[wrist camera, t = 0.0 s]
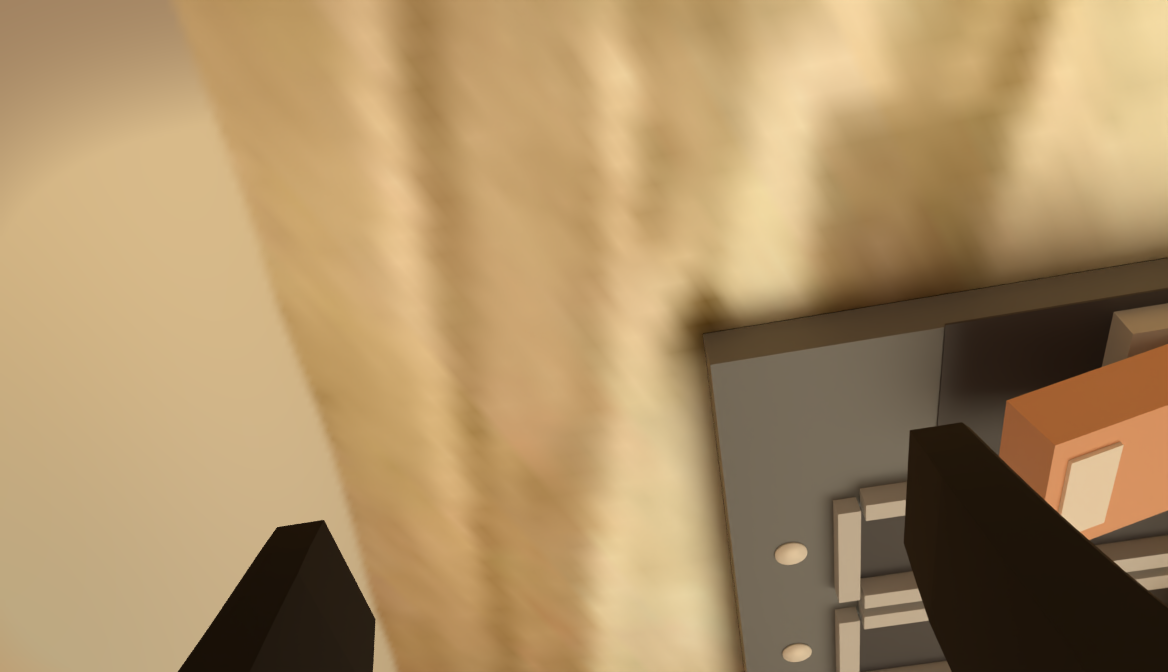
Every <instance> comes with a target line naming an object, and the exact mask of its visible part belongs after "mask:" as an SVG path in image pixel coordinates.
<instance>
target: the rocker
mask: <svg viewBox="0 0 1168 672" xmlns="http://www.w3.org/2000/svg"><path fill="white" fill-rule="evenodd" d="M999 457H1000V458H1001V459H1002V460H1003V461H1004V462H1005V463H1006V464H1007V465H1008V466H1009V467H1010V468H1011V469H1013V470H1014V471H1015V472H1016V473H1017V474H1018V475H1019V476H1020V477H1021V478H1022V479H1023V480H1024V481H1025V482H1026V483H1027V484H1028V485H1029V486H1030V487H1031V488H1032V489H1033V490H1035V491H1036V492H1037V493H1038V494H1039V495H1040V496H1041V497H1042V498H1043V499H1044V500H1045V501H1046V502H1047V503H1048V504H1049V505H1051V506H1052V507H1053V508H1054V509H1055V510H1056V511H1057V512H1058V513H1059V514H1060V515H1061V516H1063V517H1064V518H1065V519H1066V520H1067V521H1068V522H1069V523H1070V524H1071V525H1072V526H1074V527H1075V528H1076V529H1077V530H1078V531H1079V532H1080V533H1082V534H1083V535H1084V536H1085V537H1086V538H1087V539H1088V540H1090V539H1093V538H1096V537H1098V536H1101V535H1104V534H1106V533H1109V532H1112V531H1114V530H1117V529H1120V528H1122V527H1125V526H1128V525H1130V524H1133V523H1136V522H1138V521H1141V520H1144V519H1146V518H1149V517H1152V516H1154V515H1157V514H1160V513H1162V512H1165V511H1168V344H1166V345H1164V346H1161V347H1158V348H1155V349H1152V350H1149V351H1146V352H1144V353H1141V354H1138V355H1135V356H1132V357H1129V358H1126V359H1124V360H1121V361H1118V362H1115V363H1112V364H1109V365H1106V366H1104V367H1101V368H1098V369H1095V370H1092V371H1089V372H1086V373H1084V374H1081V375H1078V376H1075V377H1072V378H1069V379H1066V380H1064V381H1061V382H1058V383H1055V384H1052V385H1049V386H1047V387H1044V388H1041V389H1038V390H1035V391H1032V392H1029V393H1027V394H1024V395H1021V396H1018V397H1015V398H1012V399H1009V400H1007V401H1006V408H1005V415H1004V423H1003V430H1002V437H1001V444H1000V452H999Z"/></svg>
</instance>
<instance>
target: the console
mask: <svg viewBox="0 0 1168 672" xmlns="http://www.w3.org/2000/svg"><path fill="white" fill-rule="evenodd" d="M703 339H704V347H705V355H706V363H707V371H708V380H709V388H710V396H711V404H712V412H713V420H714V429H715V437H716V445H717V453H718V461H719V469H720V477H721V486H722V494H723V502H724V510H725V518H726V526H727V535H728V543H729V551H730V559H731V567H732V575H733V583H734V592H735V600H736V608H737V616H738V624H739V632H740V641H741V649H742V657H743V665H744V672H951V669H950V667H949V665H948V663H947V660H946V658H945V656H944V654H943V652H942V649H941V647H940V645H939V643H938V641H937V638H936V636H935V634H934V632H933V629H932V627H931V625H930V623H929V620H928V617H927V614H926V611H925V608H924V605H923V602H922V599H921V596H920V593H919V590H918V587H917V584H916V581H915V577H914V574H913V571H912V568H911V565H910V562H909V558H908V555H907V552H906V549H905V546H904V527H905V508H906V490H907V471H908V453H909V434H910V430H914V429H921V428H927V427H934V426H940V425H947V424H953V423H960V422H963V423H964V424H965V425H967V426H968V427H970V428H971V429H972V430H973V431H974V432H975V433H976V434H977V435H978V436H979V437H980V438H981V439H982V440H983V441H984V442H985V443H986V444H987V445H988V446H989V447H990V448H991V449H992V450H993V451H994V452H995V453H996V454H997V455H998V456H999V452H1000V444H1001V437H1002V430H1003V423H1004V415H1005V408H1006V401H1007V400H1009V399H1012V398H1015V397H1018V396H1021V395H1024V394H1027V393H1029V392H1032V391H1035V390H1038V389H1041V388H1044V387H1047V386H1049V385H1052V384H1055V383H1058V382H1061V381H1064V380H1066V379H1069V378H1072V377H1075V376H1078V375H1081V374H1084V373H1086V372H1089V371H1092V370H1095V369H1098V368H1101V367H1104V366H1106V365H1109V364H1112V363H1115V362H1118V361H1121V360H1124V359H1126V358H1129V357H1132V356H1135V355H1138V354H1141V353H1144V352H1146V351H1149V350H1152V349H1155V348H1158V347H1161V346H1164V345H1166V344H1168V258H1165V259H1159V260H1153V261H1147V262H1141V263H1134V264H1128V265H1122V266H1116V267H1110V268H1104V269H1098V270H1092V271H1086V272H1079V273H1073V274H1067V275H1061V276H1055V277H1049V278H1043V279H1037V280H1031V281H1025V282H1018V283H1012V284H1006V285H1000V286H994V287H988V288H982V289H976V290H970V291H963V292H957V293H951V294H945V295H939V296H933V297H927V298H921V299H915V300H908V301H902V302H896V303H890V304H884V305H878V306H872V307H866V308H860V309H854V310H847V311H841V312H835V313H829V314H823V315H817V316H811V317H805V318H799V319H792V320H786V321H780V322H774V323H768V324H762V325H756V326H750V327H744V328H738V329H731V330H725V331H719V332H713V333H707V334H703ZM1090 541H1091V542H1092V543H1093V544H1094V545H1095V546H1097V547H1098V548H1099V549H1100V550H1101V551H1102V552H1103V553H1105V554H1106V555H1107V556H1108V557H1109V558H1110V559H1111V560H1113V561H1114V562H1115V563H1116V564H1117V565H1118V566H1119V567H1121V568H1122V569H1123V570H1124V571H1125V572H1127V573H1128V574H1129V575H1130V576H1131V577H1133V578H1134V579H1135V580H1136V581H1137V582H1139V583H1140V584H1141V585H1142V586H1143V587H1145V588H1146V589H1147V590H1148V591H1149V592H1151V593H1152V594H1153V595H1154V596H1156V597H1157V598H1158V599H1159V600H1161V601H1162V602H1163V603H1164V604H1166V605H1167V606H1168V511H1165V512H1162V513H1160V514H1157V515H1154V516H1152V517H1149V518H1146V519H1144V520H1141V521H1138V522H1136V523H1133V524H1130V525H1128V526H1125V527H1122V528H1120V529H1117V530H1114V531H1112V532H1109V533H1106V534H1104V535H1101V536H1098V537H1096V538H1093V539H1090Z"/></svg>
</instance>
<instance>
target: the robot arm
mask: <svg viewBox="0 0 1168 672" xmlns="http://www.w3.org/2000/svg"><path fill="white" fill-rule="evenodd" d="M904 546H905V549H906V552H907V555H908V558H909V562H910V565H911V568H912V571H913V574H914V577H915V581H916V584H917V587H918V590H919V593H920V596H921V599H922V602H923V605H924V608H925V611H926V614H927V617H928V620H929V623H930V625H931V627H932V629H933V632H934V634H935V636H936V638H937V641H938V643H939V645H940V647H941V649H942V652H943V654H944V656H945V658H946V660H947V663H948V665H949V667H950V669H951V672H1168V606H1167V605H1166V604H1164V603H1163V602H1162V601H1161V600H1159V599H1158V598H1157V597H1156V596H1154V595H1153V594H1152V593H1151V592H1149V591H1148V590H1147V589H1146V588H1145V587H1143V586H1142V585H1141V584H1140V583H1139V582H1137V581H1136V580H1135V579H1134V578H1133V577H1131V576H1130V575H1129V574H1128V573H1127V572H1125V571H1124V570H1123V569H1122V568H1121V567H1119V566H1118V565H1117V564H1116V563H1115V562H1114V561H1113V560H1111V559H1110V558H1109V557H1108V556H1107V555H1106V554H1105V553H1103V552H1102V551H1101V550H1100V549H1099V548H1098V547H1097V546H1095V545H1094V544H1093V543H1092V542H1091V541H1090V540H1088V539H1087V538H1086V537H1085V536H1084V535H1083V534H1082V533H1080V532H1079V531H1078V530H1077V529H1076V528H1075V527H1074V526H1072V525H1071V524H1070V523H1069V522H1068V521H1067V520H1066V519H1065V518H1064V517H1063V516H1061V515H1060V514H1059V513H1058V512H1057V511H1056V510H1055V509H1054V508H1053V507H1052V506H1051V505H1049V504H1048V503H1047V502H1046V501H1045V500H1044V499H1043V498H1042V497H1041V496H1040V495H1039V494H1038V493H1037V492H1036V491H1035V490H1033V489H1032V488H1031V487H1030V486H1029V485H1028V484H1027V483H1026V482H1025V481H1024V480H1023V479H1022V478H1021V477H1020V476H1019V475H1018V474H1017V473H1016V472H1015V471H1014V470H1013V469H1011V468H1010V467H1009V466H1008V465H1007V464H1006V463H1005V462H1004V461H1003V460H1002V459H1001V458H1000V457H999V456H998V455H997V454H996V453H995V452H994V451H993V450H992V449H991V448H990V447H989V446H988V445H987V444H986V443H985V442H984V441H983V440H982V439H981V438H980V437H979V436H978V435H977V434H976V433H975V432H974V431H973V430H972V429H971V428H970V427H968V426H967V425H965V424H964V423H963V422H960V423H953V424H947V425H940V426H934V427H927V428H921V429H914V430H910V434H909V453H908V471H907V490H906V508H905V527H904ZM374 637H375V618H374V616H373V614H372V612H371V610H370V608H369V606H368V604H367V602H366V600H365V598H364V596H363V594H362V593H361V591H360V589H359V587H358V585H357V583H356V581H355V579H354V577H353V575H352V573H351V571H350V570H349V567H348V566H347V564H346V562H345V560H344V558H343V556H342V554H341V552H340V550H339V549H338V546H337V544H336V543H335V541H334V539H333V537H332V535H331V533H330V531H329V529H328V527H327V525H326V523H325V521H324V520H321V521H315V522H308V523H302V524H295V525H288V526H282V527H277V528H276V530H275V531H274V532H273V534H272V535H271V537H270V538H269V539H268V541H267V542H266V544H265V545H264V547H263V548H262V550H261V551H260V552H259V554H258V555H257V557H256V558H255V560H254V561H253V563H252V564H251V566H250V567H249V569H248V570H247V572H246V573H245V575H244V576H243V578H242V579H241V581H240V582H239V584H238V585H237V586H236V588H235V589H234V591H233V593H232V594H231V595H230V597H229V598H228V600H227V601H226V603H225V604H224V606H223V607H222V609H221V611H220V612H219V613H218V615H217V616H216V618H215V619H214V621H213V622H212V624H211V625H210V627H209V628H208V629H207V631H206V632H205V634H204V635H203V637H202V638H201V640H200V641H199V642H198V644H197V645H196V647H195V648H194V650H193V651H192V652H191V654H190V655H189V657H188V658H187V660H186V661H185V662H184V664H183V665H182V667H181V668H180V670H179V671H178V672H373V657H374Z"/></svg>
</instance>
